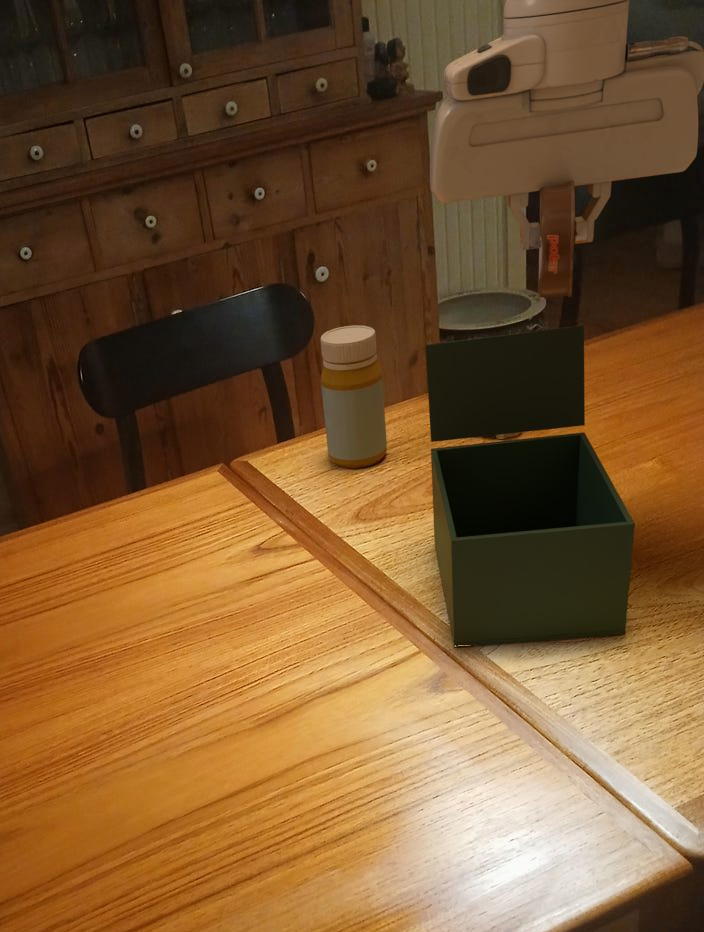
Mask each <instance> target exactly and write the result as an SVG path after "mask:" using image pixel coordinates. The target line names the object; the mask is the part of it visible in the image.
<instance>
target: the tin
mask: <svg viewBox="0 0 704 932" xmlns="http://www.w3.org/2000/svg"><path fill="white" fill-rule="evenodd" d="M575 189H576V188H575V186H574V181H571V182H569V183H565V184H561V185H555V186H548V187H543V188H541V189H540V191H539V225H540V234H541V236H540V240H541V247H540V248H538V272H537V273H538V274H537V292H538V296H539V297H540V298H558V297H568V298H571V297H572V295H573V275H574V255H575V244H574V225H575V217H576V205H575V204H576V202H575V201H576V197H575V195H576V193H575Z"/></svg>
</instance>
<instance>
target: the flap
mask: <svg viewBox="0 0 704 932" xmlns="http://www.w3.org/2000/svg"><path fill="white" fill-rule="evenodd" d="M424 345H425V361H426V378H427V394H428V396H427V399H428V414H429V433H430V442H431V443H435V442H443V441H445V442H446V441H453V440H463V439H473V438H481V437H482V438H483V437H491V436H496V435H501V434H510V433H519V432H520V433H526V432H527V433H529V432H534V431H535V432H538V431H545V430H555V429H564V428H565V429H566V428H572V427H581V426H583V427H584V426H586V424H585V423H586V421H585V420H586V419H585V418H586V416H585V415H586V413H585V411H586V410H585V407H586V406H585V405H586V403H585V399H586V398H585V397H586V396H585V325H583V324H582V325H573V326H566V327H558V328H548V329H541V330H533V331H532V330H531V331H526V332H517V333H516V332H515V333H510V334H501V335H492V336H485V337H476V338H469V339H461V340H452V341H443V342H437V343H429V344H424Z"/></svg>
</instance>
